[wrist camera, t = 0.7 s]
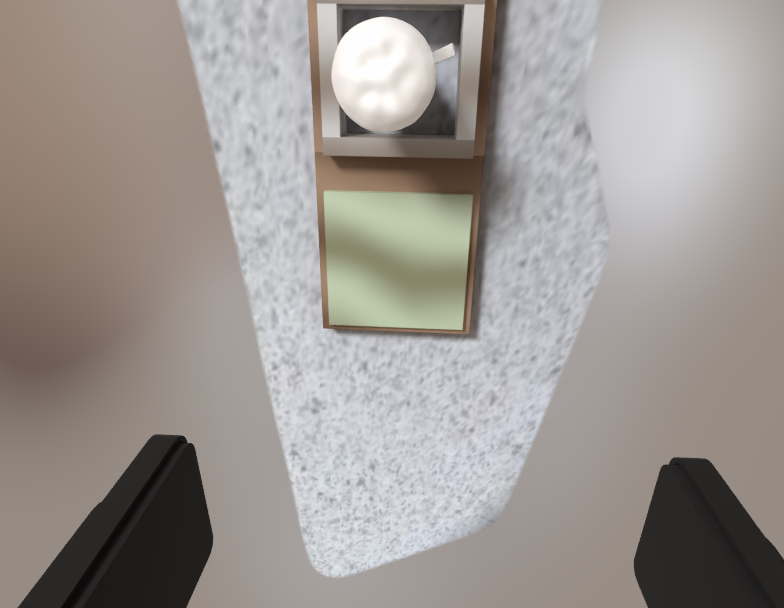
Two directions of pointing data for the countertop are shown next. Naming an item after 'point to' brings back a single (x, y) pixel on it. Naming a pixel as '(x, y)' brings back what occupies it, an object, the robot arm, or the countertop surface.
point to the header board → (400, 189)
